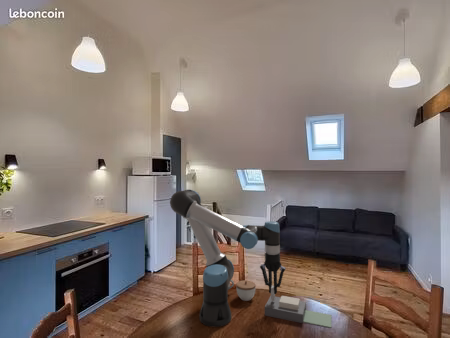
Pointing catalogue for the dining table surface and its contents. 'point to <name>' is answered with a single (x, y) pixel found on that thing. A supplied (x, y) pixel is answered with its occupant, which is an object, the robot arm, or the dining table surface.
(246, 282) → the lidded jar
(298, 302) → the tile
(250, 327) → the dining table surface
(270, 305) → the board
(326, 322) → the mat
